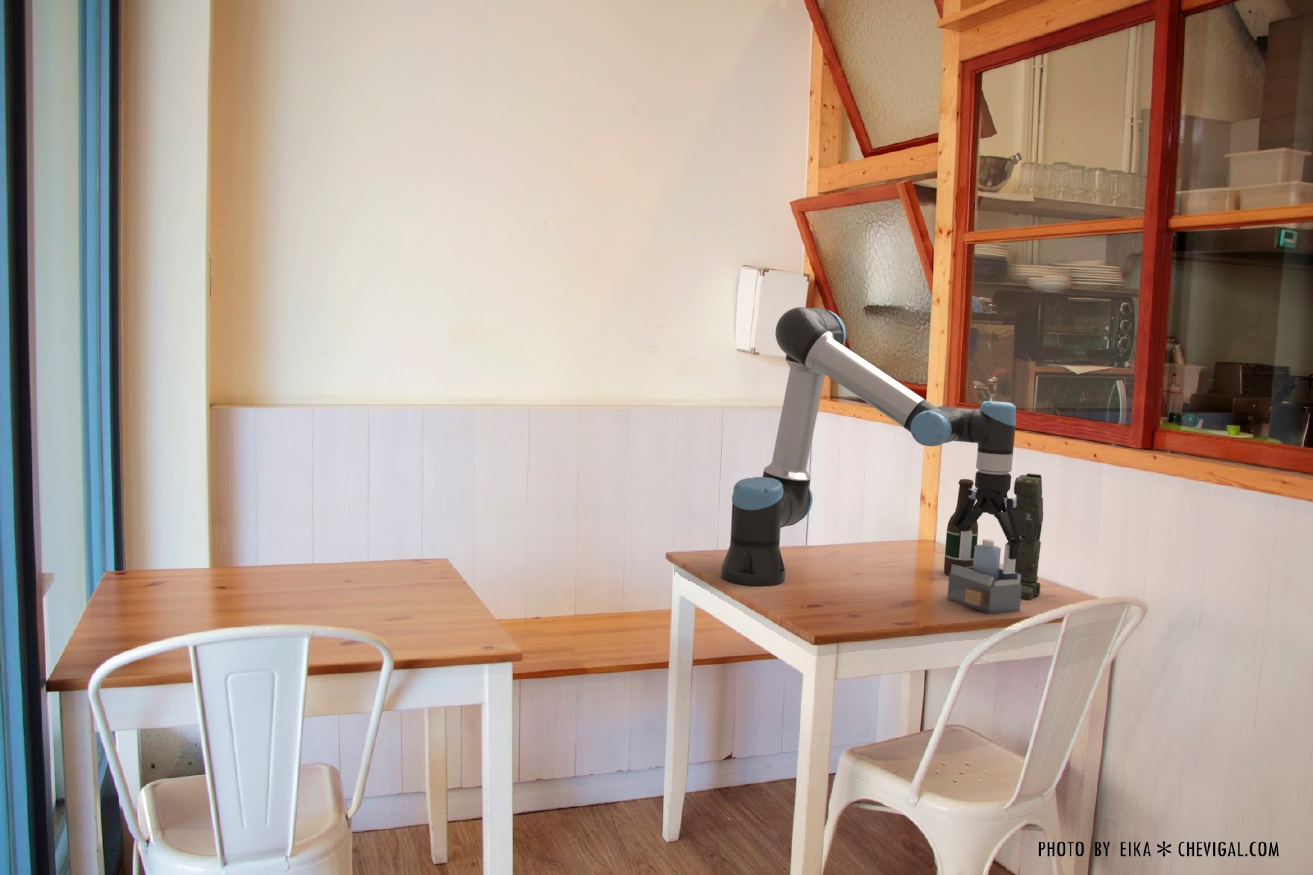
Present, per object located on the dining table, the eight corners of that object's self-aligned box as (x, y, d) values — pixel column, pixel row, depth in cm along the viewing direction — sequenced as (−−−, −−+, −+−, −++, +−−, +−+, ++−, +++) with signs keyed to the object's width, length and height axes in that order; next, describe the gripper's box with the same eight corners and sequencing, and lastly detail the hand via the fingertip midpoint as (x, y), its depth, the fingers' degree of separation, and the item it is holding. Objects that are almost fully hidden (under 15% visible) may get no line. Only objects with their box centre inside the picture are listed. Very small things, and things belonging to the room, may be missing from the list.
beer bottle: (953, 569, 269) (960, 476, 267) (981, 575, 264) (988, 480, 261) (937, 573, 264) (944, 478, 261) (965, 580, 258) (972, 483, 256)
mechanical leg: (1015, 580, 257) (1019, 464, 247) (1046, 585, 253) (1051, 467, 244) (1002, 604, 246) (1005, 484, 236) (1034, 610, 242) (1038, 488, 233)
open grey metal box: (934, 597, 240) (937, 562, 240) (971, 593, 245) (973, 559, 244) (981, 614, 227) (984, 578, 226) (1019, 610, 232) (1022, 574, 231)
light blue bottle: (967, 576, 236) (970, 538, 235) (985, 574, 239) (988, 537, 238) (984, 582, 231) (988, 544, 231) (1003, 580, 234) (1006, 542, 233)
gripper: (1049, 480, 223) (1041, 578, 225) (966, 463, 245) (959, 553, 248) (1023, 481, 220) (1015, 580, 222) (941, 464, 242) (934, 554, 244)
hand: (986, 566), depth 235 cm, fingers open, 13 cm apart
